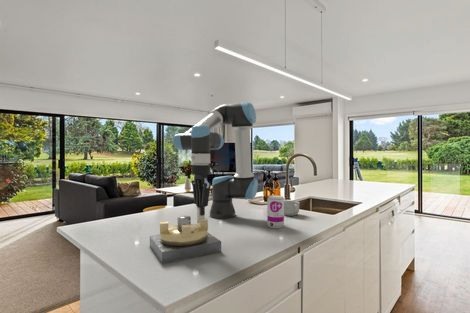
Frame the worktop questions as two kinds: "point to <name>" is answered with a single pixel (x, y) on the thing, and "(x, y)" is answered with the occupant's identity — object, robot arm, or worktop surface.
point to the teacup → (291, 208)
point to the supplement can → (275, 211)
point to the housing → (184, 249)
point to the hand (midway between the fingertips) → (200, 222)
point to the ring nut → (184, 232)
